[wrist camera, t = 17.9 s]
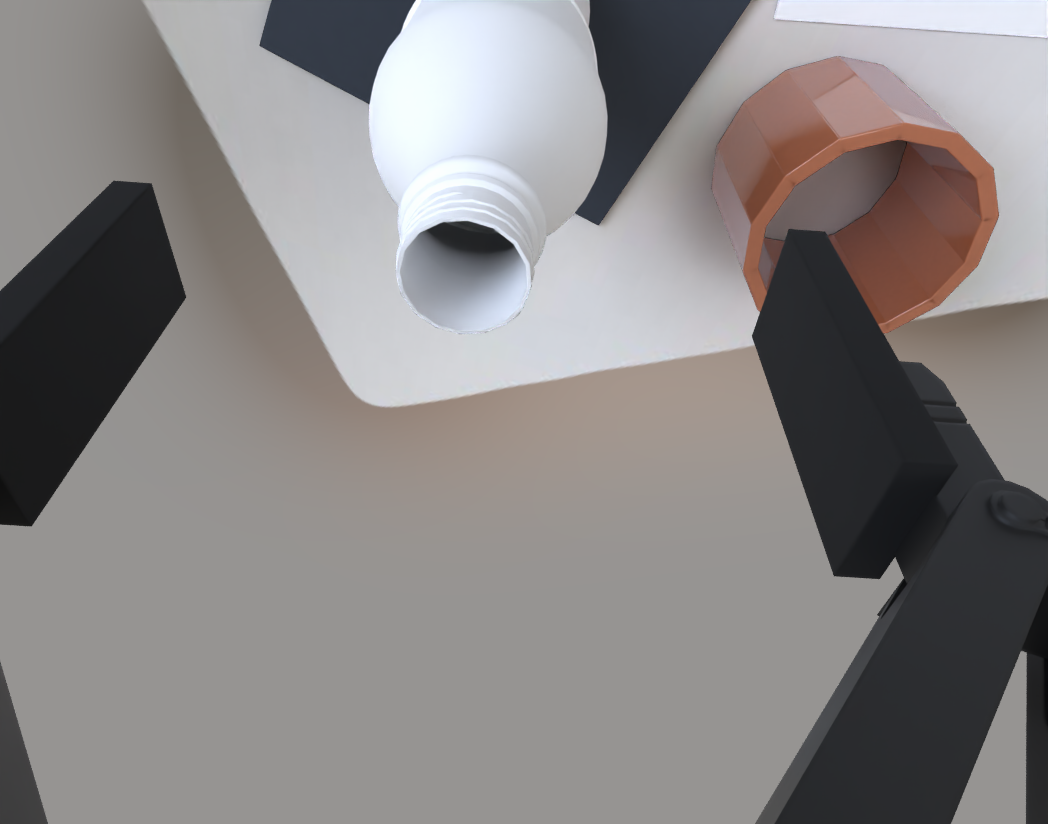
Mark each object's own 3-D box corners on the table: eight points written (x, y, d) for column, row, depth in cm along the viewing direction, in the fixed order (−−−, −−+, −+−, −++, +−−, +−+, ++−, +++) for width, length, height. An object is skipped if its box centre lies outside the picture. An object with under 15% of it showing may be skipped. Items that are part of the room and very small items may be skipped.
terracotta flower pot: (673, 155, 39) (698, 235, 33) (868, 6, 34) (946, 65, 28) (770, 284, 45) (809, 375, 38) (952, 172, 40) (1033, 255, 33)
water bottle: (411, 29, 35) (255, 328, 16) (477, -131, 31) (366, 30, 12) (539, 104, 37) (527, 441, 19) (617, -36, 33) (701, 223, 14)
